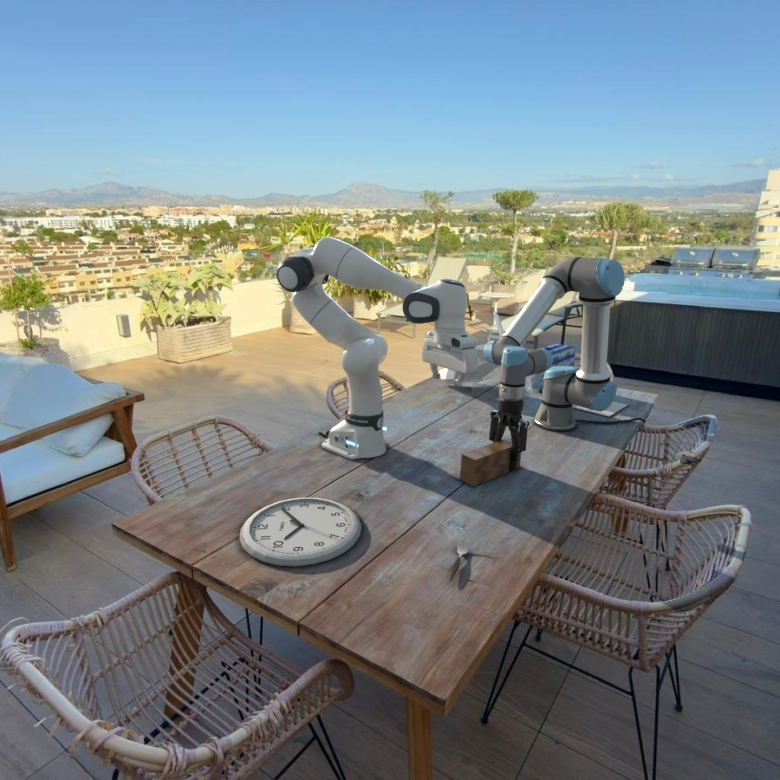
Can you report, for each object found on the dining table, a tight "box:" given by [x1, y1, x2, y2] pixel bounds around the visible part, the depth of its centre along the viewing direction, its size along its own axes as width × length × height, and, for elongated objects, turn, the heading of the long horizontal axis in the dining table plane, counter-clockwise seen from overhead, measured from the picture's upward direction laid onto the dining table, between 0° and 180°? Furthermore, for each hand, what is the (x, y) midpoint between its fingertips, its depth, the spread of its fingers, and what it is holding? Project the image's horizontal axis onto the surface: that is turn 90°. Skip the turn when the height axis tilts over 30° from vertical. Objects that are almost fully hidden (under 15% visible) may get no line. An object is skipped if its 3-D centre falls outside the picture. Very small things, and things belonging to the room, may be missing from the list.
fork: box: [449, 535, 471, 582], centre depth 119 cm, size 3×16×2 cm, turn 160°
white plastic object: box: [438, 310, 531, 397], centre depth 245 cm, size 37×45×31 cm
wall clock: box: [239, 497, 362, 567], centre depth 131 cm, size 30×2×30 cm
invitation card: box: [573, 400, 629, 418], centre depth 226 cm, size 21×1×15 cm
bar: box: [459, 437, 522, 487], centre depth 162 cm, size 22×6×8 cm, turn 128°
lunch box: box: [530, 343, 576, 392], centre depth 248 cm, size 26×11×21 cm, turn 134°
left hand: (446, 382), depth 156 cm, fingers open, 8 cm apart
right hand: (504, 466), depth 167 cm, fingers closed on bar, 5 cm apart
